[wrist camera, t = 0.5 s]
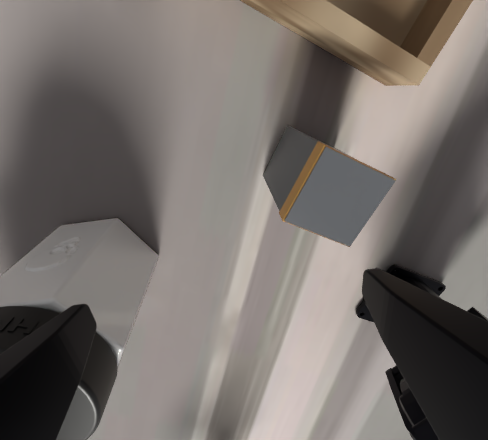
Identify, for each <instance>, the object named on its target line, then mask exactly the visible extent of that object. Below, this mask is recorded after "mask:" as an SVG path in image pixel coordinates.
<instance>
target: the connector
mask: <svg viewBox="0 0 488 440" xmlns="http://www.w3.org/2000/svg"><path fill="white" fill-rule="evenodd" d="M263 177H264V179H265V181H266V183H267V185H268V187H269V189H270V192H271V194H272V196H273V198H274V200H275V202H276V204H277V207H278V209H279V211H280V212H279V214H280V216H281V218H282V221H284V222H287V223H289V224H292V225H294V226H297V227H299V228H302V229H305V230H307V231H310V232H312V233H315V234H317V235H320V236H323V237H325V238H328V239H330V240H333V241H335V242H338V243H341V244H343V245H346V246H348V247H350V246H351V244H352V243H353V241H354V240H355V238H356V237H357V236H358V234H359V233H360V231H361V230H362V228H363V227H364V226H365V224H366V223H367V221H368V220H369V218H370V217H371V215H372V214H373V213H374V211H375V210H376V208H377V207H378V205H379V204H380V203H381V201H382V200H383V198H384V197H385V195H386V194H387V193H388V191H389V190H390V188H391V187H392V185H393V184H394V182H395V181H396V179H395V178H393V177H391V176H389V175H387V174H385V173H383V172H381V171H379V170H377V169H375V168H373V167H371V166H369V165H367V164H365V163H362V162H360V161H358V160H357V159H355V158H353V157H351V156H349V155H347V154H345V153H343V152H341V151H340V150H338V149H336V148H334V147H332V146H330V145H328V144H326V143H324V142H322V141H320V140H318V139H315V138H313V137H311V136H309V135H307V134H305V133H303V132H301V131H299V130H297V129H295V128H293V127H291V126H289V125H287V127H286V129H285V131H284V133H283V135H282V137H281V139H280V141H279V143H278V145H277V147H276V150H275V152H274V154H273V156H272V158H271V160H270V162H269V164H268V166H267V168H266V170H265V172H264V174H263Z"/></svg>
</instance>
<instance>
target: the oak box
mask: <svg viewBox="0 0 488 440" xmlns="http://www.w3.org/2000/svg"><path fill="white" fill-rule="evenodd" d="M240 1H242V2H244V3H245V4H247V5H249V6H250V7H252V8H254V9H256V10H257V11H259V12H261V13H262V14H264V15H266V16H268V17H269V18H271V19H273V20H274V21H276V22H278V23H280V24H281V25H283V26H285V27H286V28H288V29H290V30H292V31H293V32H295V33H297V34H298V35H300V36H302V37H304V38H305V39H307V40H309V41H310V42H312V43H314V44H315V45H317V46H319V47H321V48H322V49H324V50H326V51H327V52H329V53H331V54H333V55H334V56H336V57H338V58H339V59H341V60H343V61H345V62H346V63H348V64H350V65H351V66H353V67H355V68H357V69H358V70H360V71H362V72H363V73H365V74H367V75H368V76H370V77H372V78H374V79H375V80H377V81H379V82H380V83H382V84H384V85H386V86H391V85H419V84H420V83H421V81H422V79H423V78H424V76H425V75H426V73H427V72H428V70H429V68H430V67H431V65H432V64H433V62H434V61H435V59H436V57H437V56H438V54H439V53H440V51H441V50H442V48H443V46H444V45H445V43H446V42H447V40H448V39H449V37H450V36H451V34H452V32H453V31H454V29H455V28H456V26H457V25H458V23H459V21H460V20H461V18H462V17H463V15H464V14H465V12H466V10H467V9H468V7H469V6H470V4H471V3H472V1H473V0H240Z"/></svg>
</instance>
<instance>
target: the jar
mask: <svg viewBox="0 0 488 440" xmlns="http://www.w3.org/2000/svg"><path fill="white" fill-rule="evenodd" d="M157 260H158V254H157V253H155V252H154V251H153V250H152V249H151V248H150V247H149V246H148V245H147V244H146V243H145V242H143V241H142V240H141V239H140V238H139V237H138V236H137V235H136V234H135V233H134V232H133V231H131V230H130V229H129V228H128V227H127V226H126V225H125V224H124V223H123V222H122V221H121V220H120V219H118V218H113V219H105V220H98V221H90V222H82V223H75V224H67V225H61V226H59V227H58V228H57V229H56V230H54V231H53V232H52V233H51V234H50V235H48V236H47V237H46V238H45V239H44V240H43V241H41V242H40V243H39V244H38V245H37V246H36V247H34V248H33V249H32V250H31V251H30V252H28V253H27V254H26V255H25V256H24V257H23V258H21V259H20V260H19V261H18V262H17V263H15V264H14V265H13V266H12V267H11V268H10V269H8V270H7V271H6V272H5V273H4V274H3V275H1V276H0V354H1V353H3V352H4V351H6V350H7V349H9V348H10V347H12V346H13V345H15V344H16V343H18V342H19V341H20V340H22V339H23V338H25V337H26V336H28V335H29V334H31V333H32V332H34V331H35V330H37V329H38V328H40V327H41V326H43V325H44V324H46V323H47V322H49V321H50V320H51V319H53V318H54V317H56V316H57V315H59V314H60V313H62V312H63V311H65V310H66V309H68V308H69V307H71V306H73V305H77V304H87V305H88V306H89V308H90V310H91V312H92V314H93V316H94V318H95V321H96V324H97V328H96V332H95V336H94V339H93V342H92V346H91V349H90V352H89V355H88V359H87V362H86V365H85V369H84V372H83V375H82V378H81V380H80V383H79V385H78V388H77V390H76V393H75V395H74V397H73V400H72V402H71V405H70V407H69V410H68V412H67V415H66V417H65V419H64V422H63V424H62V427H61V429H60V432H59V434H58V436H57V439H56V440H87V439H88V438H89V437H90V436H91V435H92V434H93V433H94V431H95V430H96V428H97V427H98V425H99V423H100V420H101V417H102V415H103V412H104V409H105V407H106V404H107V401H108V398H109V396H110V393H111V390H112V387H113V385H114V382H115V379H116V376H117V369H118V366H119V363H120V361H121V358H122V355H123V353H124V350H125V347H126V345H127V342H128V339H129V337H130V334H131V331H132V328H133V326H134V323H135V320H136V318H137V315H138V312H139V310H140V307H141V304H142V302H143V299H144V296H145V294H146V291H147V288H148V285H149V283H150V280H151V277H152V274H153V272H154V269H155V266H156V263H157Z"/></svg>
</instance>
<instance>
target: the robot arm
mask: <svg viewBox="0 0 488 440" xmlns="http://www.w3.org/2000/svg"><path fill="white" fill-rule="evenodd" d="M395 270H396V271H395ZM445 288H446V287H445V285H444V284H443V283H441V282H439V281H436V280H434V279H431V278H429V277H426V276H424V275H421V274H418V273H416V272H413V271H411V270H408V269H406V268H403V267H400V266H398V265H393V266H391V267H390V268H389V269H388V271H387V272H385V271H383V270H381V269H378V268H375V269H367V270H365V271H364V275H363V285H362V294H363V297H364V301H363V302H362V303H361V305H360V306H359V307H358V308H357V310H356V314H357V316H358V317H359V318H362V319H365V320H368V321H372V322H374V323H375V325H376V327H377V329H378V332H379V334H380V336H381V338H382V340H383V342H384V344H385V346H386V348H387V349H388V351H389V353H390V355H391V356H392V358H393V360H394V362H395V363H396V366H395V367H393V368H392V369H391V368H390V369H388V370H387V371H386V375H387V378H388V381H389V384H390V387H391V390H392V392H393V395H394V398H395V400H396V403H397V405H398V408H399V411H400V413H401V416H402V419H403V421H404V424H405V426H406V428H407V430H408V431H409V432H410V435H411V437H412V438H413V440H488V319H487V318H486V317H485V316H484V315H482V314H481V313H480V312H479V311H477V310H476V309H475V308H473V307H472V308H471V309H469V310H468V311H465V310H463V309H461V308H459V307H457V306H455V305H453V304H451V303H449V302H447V301H444V300H442V299H441V298H440V297H439V295H440V294H441V293H442V292H443V291H444V290H445ZM96 328H97V324H96V321H95V318H94V316H93V314H92V312H91V310H90V308H89V306H88V305H87V304H77V305H73V306H71V307H69V308H68V309H66V310H65V311H63V312H62V313H60V314H59V315H57V316H56V317H54V318H53V319H51V320H50V321H49V322H47V323H46V324H44V325H43V326H41V327H40V328H38V329H37V330H35V331H34V332H32V333H31V334H29V335H28V336H26V337H25V338H23V339H22V340H20V341H19V342H18V343H16V344H15V345H13V346H12V347H10V348H9V349H7V350H6V351H4V352H3V353H1V354H0V440H56V439H57V436H58V434H59V432H60V429H61V427H62V424H63V422H64V419H65V417H66V415H67V412H68V410H69V407H70V405H71V402H72V400H73V397H74V395H75V393H76V390H77V388H78V385H79V383H80V380H81V378H82V375H83V372H84V369H85V365H86V362H87V359H88V355H89V352H90V349H91V346H92V342H93V339H94V336H95V332H96Z"/></svg>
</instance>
